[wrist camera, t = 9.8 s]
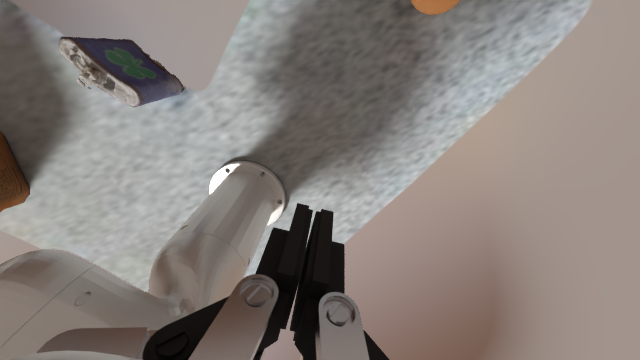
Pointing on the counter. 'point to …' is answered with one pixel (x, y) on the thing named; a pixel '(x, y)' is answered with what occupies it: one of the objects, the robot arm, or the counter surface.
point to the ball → (434, 6)
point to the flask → (120, 69)
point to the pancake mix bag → (10, 178)
